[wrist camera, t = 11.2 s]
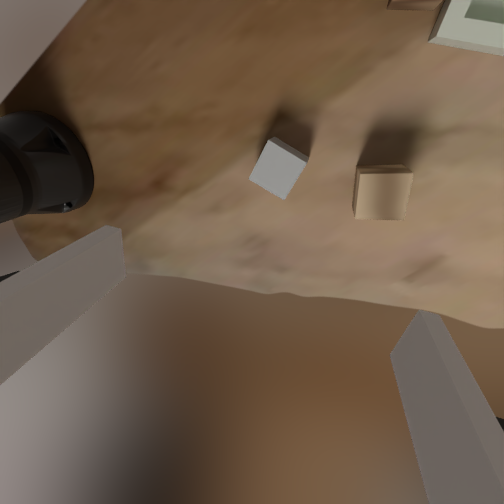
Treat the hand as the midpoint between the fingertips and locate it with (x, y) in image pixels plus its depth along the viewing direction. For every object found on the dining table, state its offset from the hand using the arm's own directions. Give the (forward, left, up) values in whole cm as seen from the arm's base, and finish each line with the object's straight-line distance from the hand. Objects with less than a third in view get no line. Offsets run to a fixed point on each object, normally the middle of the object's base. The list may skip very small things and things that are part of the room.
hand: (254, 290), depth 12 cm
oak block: (+9, +1, -26) cm, 27 cm away
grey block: (-3, 0, -26) cm, 26 cm away
